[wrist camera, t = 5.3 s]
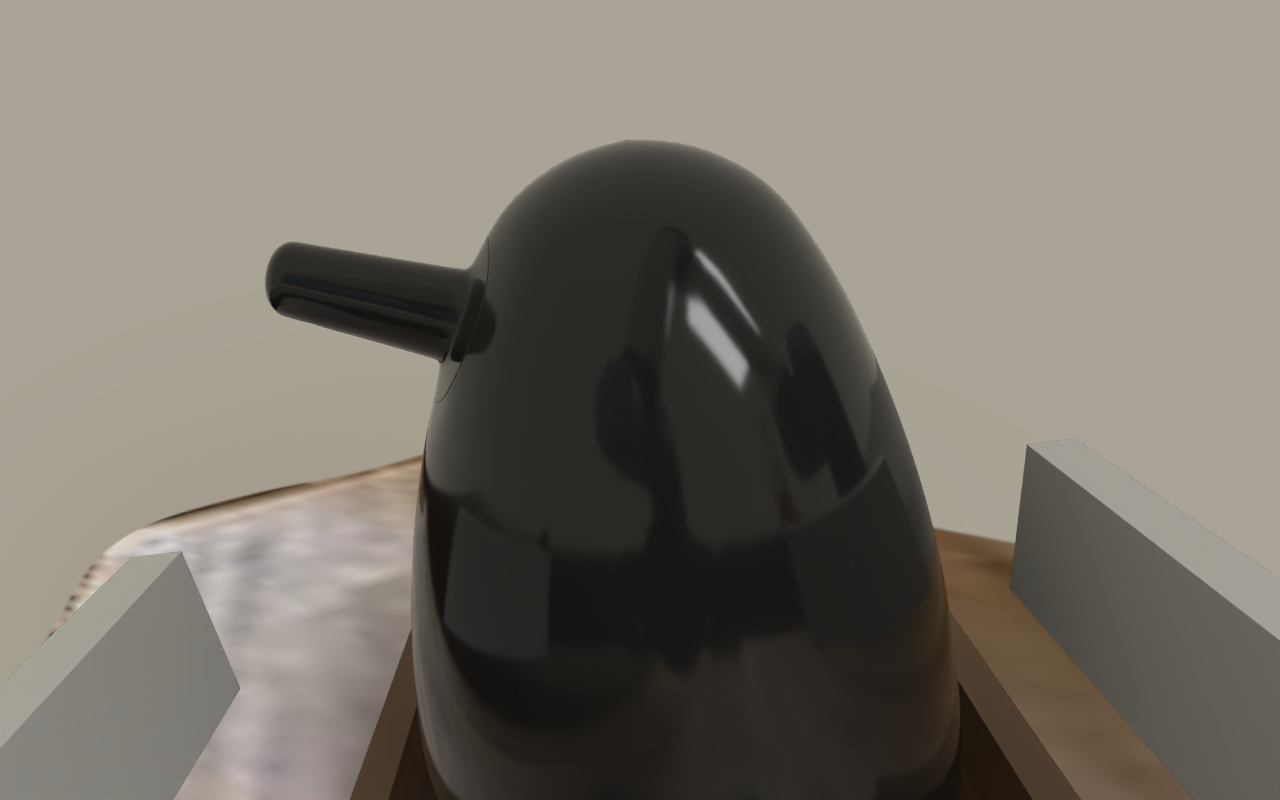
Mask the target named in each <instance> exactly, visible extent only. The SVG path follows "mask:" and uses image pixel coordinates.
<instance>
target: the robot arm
mask: <svg viewBox="0 0 1280 800" xmlns="http://www.w3.org/2000/svg"><path fill="white" fill-rule="evenodd" d="M1010 589H1011V590H1012V591H1013V592H1014V593H1015V595H1016V596H1017V597H1018V598H1019V599H1020V600H1021V601H1022V603H1023V604H1024V605H1025V606H1026V607H1027V608H1028V610H1029V611H1030V612H1031V613H1032V614H1033V615H1034V616H1035V618H1036V619H1037V620H1038V621H1039V622H1040V623H1041V624H1042V626H1043V627H1044V628H1045V629H1046V630H1047V631H1048V633H1049V634H1050V635H1051V636H1052V637H1053V638H1054V639H1055V641H1056V642H1057V643H1058V644H1059V645H1060V646H1061V647H1062V649H1063V650H1064V651H1065V652H1066V653H1067V654H1068V655H1069V657H1070V658H1071V659H1072V660H1073V661H1074V662H1075V664H1076V665H1077V666H1078V667H1079V668H1080V669H1081V670H1082V672H1083V673H1084V674H1085V675H1086V676H1087V677H1088V678H1089V680H1090V681H1091V682H1092V683H1093V684H1094V685H1095V687H1096V688H1097V689H1098V690H1099V691H1100V692H1101V693H1102V695H1103V696H1104V697H1105V698H1106V699H1107V700H1108V701H1109V703H1110V704H1111V705H1112V706H1113V707H1114V708H1115V710H1116V711H1117V712H1118V713H1119V714H1120V715H1121V716H1122V718H1123V719H1124V720H1125V721H1126V722H1127V723H1128V724H1129V726H1130V727H1131V728H1132V729H1133V730H1134V731H1135V733H1136V734H1137V735H1138V736H1139V737H1140V738H1141V739H1142V741H1143V742H1144V743H1145V744H1146V745H1147V746H1148V747H1149V749H1150V750H1151V751H1152V752H1153V753H1154V754H1155V756H1156V757H1157V758H1158V759H1159V760H1160V761H1161V762H1162V764H1163V765H1164V766H1165V767H1166V768H1167V769H1168V770H1169V772H1170V773H1171V774H1172V775H1173V776H1174V777H1175V779H1176V780H1177V781H1178V782H1179V783H1180V784H1181V785H1182V787H1183V788H1184V789H1185V790H1186V791H1187V792H1188V793H1189V795H1190V796H1191V797H1192V798H1193V799H1194V800H1280V578H1278V577H1277V576H1275V575H1274V574H1272V573H1271V572H1270V571H1268V570H1266V569H1265V568H1264V567H1262V566H1261V565H1259V564H1258V563H1256V562H1255V561H1254V560H1252V559H1251V558H1249V557H1248V556H1246V555H1245V554H1243V553H1242V552H1240V551H1239V550H1237V549H1236V548H1235V547H1233V546H1232V545H1230V544H1229V543H1227V542H1226V541H1224V540H1223V539H1221V538H1220V537H1218V536H1217V535H1215V534H1214V533H1213V532H1211V531H1210V530H1208V529H1207V528H1205V527H1204V526H1202V525H1201V524H1199V523H1198V522H1196V521H1195V520H1194V519H1192V518H1191V517H1189V516H1188V515H1186V514H1185V513H1183V512H1182V511H1180V510H1179V509H1178V508H1176V507H1175V506H1173V505H1172V504H1170V503H1169V502H1167V501H1166V500H1164V499H1163V498H1162V497H1160V496H1159V495H1157V494H1156V493H1154V492H1153V491H1151V490H1150V489H1148V488H1147V487H1146V486H1144V485H1143V484H1141V483H1140V482H1138V481H1137V480H1135V479H1134V478H1132V477H1131V476H1129V475H1128V474H1127V473H1125V472H1124V471H1122V470H1121V469H1119V468H1117V467H1116V466H1115V465H1113V464H1112V463H1110V462H1109V461H1108V460H1106V459H1105V458H1103V457H1102V456H1100V455H1099V454H1097V453H1096V452H1094V451H1093V450H1092V449H1090V448H1088V447H1087V446H1086V445H1084V444H1083V443H1081V442H1080V441H1078V440H1077V439H1075V438H1074V439H1067V440H1060V441H1059V440H1058V441H1051V442H1043V443H1035V444H1027V449H1026V458H1025V466H1024V474H1023V483H1022V491H1021V500H1020V509H1019V517H1018V526H1017V533H1016V542H1015V550H1014V559H1013V567H1012V576H1011V584H1010ZM239 690H240V686H239V684H238V682H237V679H236V677H235V675H234V673H233V670H232V668H231V666H230V663H229V661H228V659H227V656H226V654H225V652H224V649H223V647H222V645H221V642H220V640H219V638H218V635H217V633H216V631H215V628H214V626H213V624H212V621H211V619H210V617H209V614H208V612H207V610H206V607H205V605H204V603H203V600H202V598H201V596H200V593H199V591H198V589H197V586H196V584H195V582H194V579H193V577H192V575H191V572H190V570H189V568H188V565H187V563H186V561H185V558H184V556H183V554H182V552H181V551H180V552H172V553H164V554H156V555H148V556H140V557H132V558H130V559H129V560H128V561H127V562H126V563H125V564H124V565H123V566H122V567H121V568H120V569H119V570H118V571H117V572H116V573H115V574H114V575H113V576H112V577H111V578H110V579H109V580H108V581H107V582H106V583H105V584H104V585H103V586H102V587H101V588H99V589H98V590H97V591H96V592H95V593H94V594H93V595H92V596H91V597H90V598H89V599H88V600H87V601H86V602H85V603H84V604H83V605H82V606H81V607H80V608H79V609H78V610H77V611H76V612H75V613H74V614H73V615H72V616H71V617H70V618H69V619H68V620H67V621H66V622H65V623H64V624H63V625H62V626H61V627H60V628H59V629H58V630H57V631H56V632H55V633H54V634H53V635H52V636H51V637H50V638H48V639H47V640H46V641H45V642H44V643H43V644H42V645H41V646H40V647H39V648H38V649H37V650H36V651H35V652H34V653H33V654H32V655H31V656H30V657H29V658H28V659H27V660H26V661H25V662H24V663H23V664H22V665H21V666H20V667H19V668H18V669H17V670H16V671H15V672H14V673H13V674H12V675H11V676H10V677H9V678H8V679H7V680H6V681H5V682H4V683H3V684H2V685H1V686H0V800H173V799H174V797H175V796H176V794H177V792H178V791H179V789H180V787H181V786H182V784H183V782H184V781H185V779H186V777H187V776H188V774H189V772H190V771H191V769H192V768H193V766H194V764H195V763H196V761H197V759H198V758H199V756H200V754H201V753H202V751H203V749H204V748H205V746H206V744H207V743H208V741H209V739H210V738H211V736H212V734H213V733H214V731H215V729H216V728H217V726H218V724H219V723H220V721H221V719H222V718H223V716H224V714H225V713H226V711H227V709H228V708H229V706H230V704H231V703H232V701H233V700H234V698H235V696H236V695H237V693H238V691H239Z"/></svg>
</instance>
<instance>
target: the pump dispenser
mask: <svg viewBox="0 0 1280 800" xmlns="http://www.w3.org/2000/svg"><path fill="white" fill-rule="evenodd" d="M265 290H266V296H267V299H268V301H269V303H270V305H271V307H272V308H273V309H274V310H275V311H276V312H277V313H279V314H280V315H283V316H285V317H289V318H293V319H296V320H300V321H304V322H308V323H312V324H316V325H318V326H322V327H325V328H328V329H332V330H336V331H339V332H342V333H346V334H350V335H354V336H357V337H361V338H364V339H367V340H371V341H375V342H378V343H382V344H385V345H389V346H392V347H396V348H400V349H403V350H406V351H410V352H413V353H417V354H420V355H424V356H427V357H430V358H433V359H436V360H438V362H439V366H440V367H439V375H438V380H437V386H436V391H435V398H434V402H433V406H432V411H431V415H430V420H429V425H428V429H427V435H426V441H425V446H424V453H423V459H422V466H421V473H420V480H419V488H418V496H417V506H416V516H415V528H414V542H413V561H412V589H411V623H412V651H413V667H414V680H415V692H416V701H417V711H418V719H419V728H420V736H421V744H422V752H423V760H424V767H425V774H426V780H427V786H428V791H429V797H430V800H960V798H961V787H962V764H963V745H962V722H961V709H960V698H959V687H958V677H957V667H956V657H955V648H954V640H953V632H952V624H951V617H950V610H949V604H948V598H947V592H946V586H945V581H944V575H943V570H942V565H941V560H940V555H939V551H938V546H937V542H936V538H935V533H934V529H933V525H932V522H931V518H930V514H929V510H928V507H927V502H926V499H925V495H924V492H923V488H922V485H921V481H920V478H919V475H918V471H917V468H916V465H915V462H914V459H913V456H912V453H911V450H910V447H909V444H908V441H907V438H906V435H905V432H904V429H903V426H902V424H901V421H900V418H899V415H898V412H897V410H896V407H895V404H894V402H893V399H892V396H891V394H890V391H889V389H888V386H887V384H886V381H885V379H884V376H883V374H882V371H881V369H880V366H879V364H878V362H877V359H876V357H875V355H874V353H873V350H872V348H871V345H870V343H869V341H868V339H867V337H866V334H865V332H864V330H863V327H862V325H861V324H860V321H859V319H858V317H857V315H856V313H855V311H854V309H853V307H852V305H851V303H850V301H849V299H848V297H847V295H846V293H845V291H844V289H843V287H842V286H841V284H840V282H839V280H838V278H837V276H836V275H835V273H834V271H833V270H832V268H831V266H830V264H829V263H828V261H827V260H826V258H825V256H824V255H823V253H822V251H821V250H820V248H819V247H818V245H817V244H816V242H815V240H814V239H813V238H812V236H811V234H810V233H809V231H808V230H807V229H806V227H805V226H804V224H803V223H802V222H801V220H800V219H799V218H798V216H797V215H796V214H795V212H794V211H793V210H792V209H791V208H790V206H789V205H788V204H787V203H786V202H785V200H784V199H782V197H781V196H780V195H779V194H778V193H777V192H776V191H775V190H774V189H773V188H772V187H771V186H769V185H768V184H767V183H766V182H764V181H763V180H762V179H760V178H759V177H758V176H756V175H755V174H754V173H752V172H751V171H749V170H747V169H746V168H744V167H742V166H740V165H739V164H737V163H735V162H733V161H731V160H728V159H726V158H725V157H722V156H720V155H717V154H715V153H712V152H710V151H707V150H704V149H701V148H697V147H694V146H690V145H685V144H680V143H675V142H667V141H655V140H624V141H620V142H616V143H612V144H607V145H604V146H600V147H597V148H593V149H590V150H588V151H585V152H582V153H580V154H577V155H575V156H573V157H571V158H568V159H566V160H564V161H562V162H561V163H559V164H557V165H556V166H554V167H552V168H550V169H549V170H548V171H546V172H545V173H543V174H542V175H540V176H539V177H537V178H536V179H535V180H534V181H533V182H531V183H530V184H529V185H528V186H526V187H525V188H524V189H523V190H522V191H521V192H520V193H519V194H518V195H517V196H516V197H515V198H514V199H513V200H512V201H511V202H510V203H509V204H508V206H507V207H506V208H505V209H504V211H503V212H502V213H501V215H500V216H499V218H498V219H497V221H496V222H495V224H494V226H493V227H492V229H491V230H490V232H489V234H488V235H487V237H486V239H485V241H484V243H483V245H482V247H481V249H480V251H479V253H478V255H477V257H476V259H475V260H474V262H473V264H472V265H471V266H470V267H469V268H467V269H458V268H450V267H444V266H438V265H432V264H426V263H419V262H413V261H407V260H401V259H395V258H389V257H383V256H377V255H371V254H365V253H359V252H353V251H347V250H341V249H335V248H329V247H323V246H317V245H311V244H305V243H299V242H287V243H285V244H283V245H281V246H280V247H278V248H277V249H276V251H275V252H274V253H273V254H272V256H271V258H270V260H269V263H268V266H267V270H266V276H265Z"/></svg>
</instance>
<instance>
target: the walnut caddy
mask: <svg viewBox="0 0 1280 800" xmlns="http://www.w3.org/2000/svg"><path fill="white" fill-rule="evenodd" d="M950 617H951V624H952V632H953V640H954V648H955V657H956V667H957V677H958V687H959V698H960V709H961V722H962V745H963V764H962V787H961V798H960V800H1081V799H1080V798H1079V796H1078V795H1077V794H1076V792H1075V791H1074V789H1073V788H1072V786H1071V785H1070V784H1069V782H1068V781H1067V779H1066V778H1065V776H1064V775H1063V773H1062V772H1061V771H1060V769H1059V768H1058V766H1057V765H1056V763H1055V762H1054V760H1053V759H1052V758H1051V756H1050V755H1049V753H1048V752H1047V750H1046V749H1045V747H1044V746H1043V745H1042V743H1041V742H1040V740H1039V739H1038V737H1037V736H1036V734H1035V733H1034V732H1033V730H1032V729H1031V727H1030V726H1029V724H1028V723H1027V721H1026V720H1025V719H1024V717H1023V716H1022V714H1021V713H1020V711H1019V710H1018V709H1017V707H1016V706H1015V704H1014V703H1013V701H1012V700H1011V698H1010V697H1009V696H1008V694H1007V693H1006V691H1005V690H1004V688H1003V687H1002V685H1001V684H1000V683H999V681H998V680H997V678H996V677H995V675H994V674H993V672H992V671H991V670H990V668H989V667H988V665H987V664H986V662H985V661H984V659H983V658H982V657H981V655H980V654H979V652H978V651H977V649H976V648H975V647H974V645H973V644H972V642H971V641H970V639H969V638H968V636H967V635H966V634H965V632H964V631H963V629H962V628H961V626H960V625H959V623H958V622H957V621H956V619H955V618H954V616H953V615H952V613H951V612H950ZM350 800H430V797H429V791H428V786H427V780H426V774H425V767H424V760H423V752H422V744H421V736H420V728H419V719H418V711H417V701H416V692H415V680H414V667H413V651H412V628H411V631H410V634H409V637H408V640H407V642H406V645H405V648H404V651H403V653H402V656H401V659H400V662H399V665H398V667H397V670H396V673H395V676H394V679H393V681H392V684H391V687H390V690H389V692H388V695H387V698H386V701H385V704H384V706H383V709H382V712H381V715H380V717H379V720H378V723H377V726H376V729H375V731H374V734H373V737H372V740H371V743H370V745H369V748H368V751H367V754H366V756H365V759H364V762H363V765H362V768H361V770H360V773H359V776H358V779H357V781H356V784H355V787H354V790H353V793H352V795H351V798H350Z"/></svg>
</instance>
